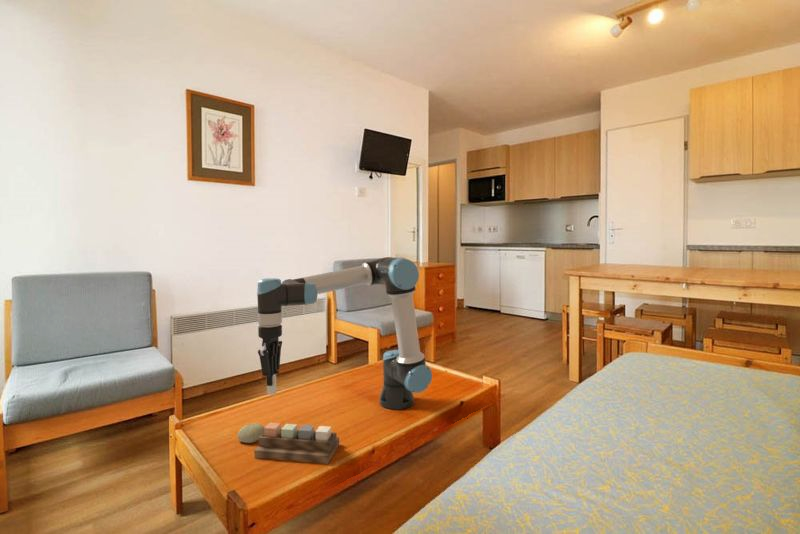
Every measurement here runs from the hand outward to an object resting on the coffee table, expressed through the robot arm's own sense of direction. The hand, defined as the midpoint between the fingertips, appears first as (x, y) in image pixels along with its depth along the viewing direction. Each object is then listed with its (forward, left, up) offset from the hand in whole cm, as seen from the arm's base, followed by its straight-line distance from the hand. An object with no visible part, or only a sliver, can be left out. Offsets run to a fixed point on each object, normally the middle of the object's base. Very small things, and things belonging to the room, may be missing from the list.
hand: (271, 393), depth 133 cm
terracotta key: (0, 0, -15) cm, 15 cm away
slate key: (-12, 0, -15) cm, 19 cm away
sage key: (-6, 0, -15) cm, 16 cm away
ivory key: (-18, 0, -15) cm, 23 cm away
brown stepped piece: (-9, 0, -19) cm, 21 cm away
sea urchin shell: (+11, -6, -20) cm, 23 cm away
